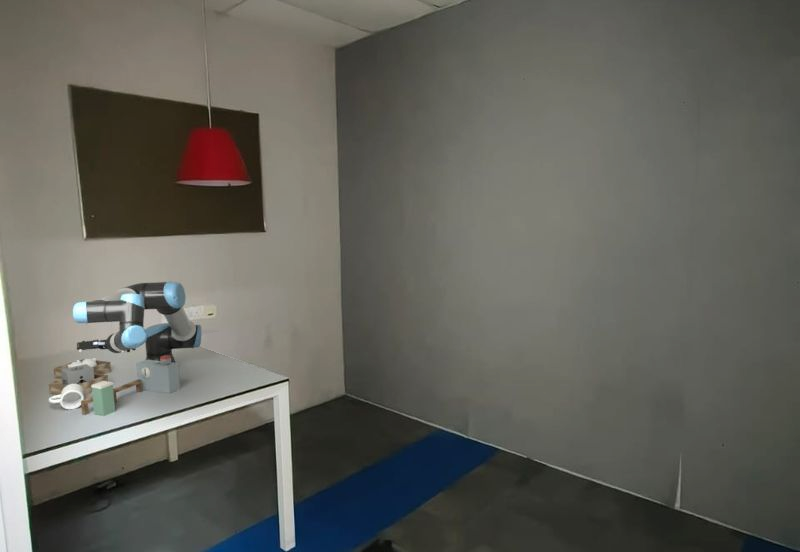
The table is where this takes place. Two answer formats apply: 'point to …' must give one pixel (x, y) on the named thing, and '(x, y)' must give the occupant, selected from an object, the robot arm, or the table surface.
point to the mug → (69, 397)
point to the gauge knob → (165, 359)
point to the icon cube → (77, 374)
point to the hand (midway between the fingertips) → (100, 349)
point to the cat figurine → (86, 361)
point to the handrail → (138, 389)
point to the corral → (100, 369)
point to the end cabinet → (158, 376)
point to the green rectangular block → (103, 398)
